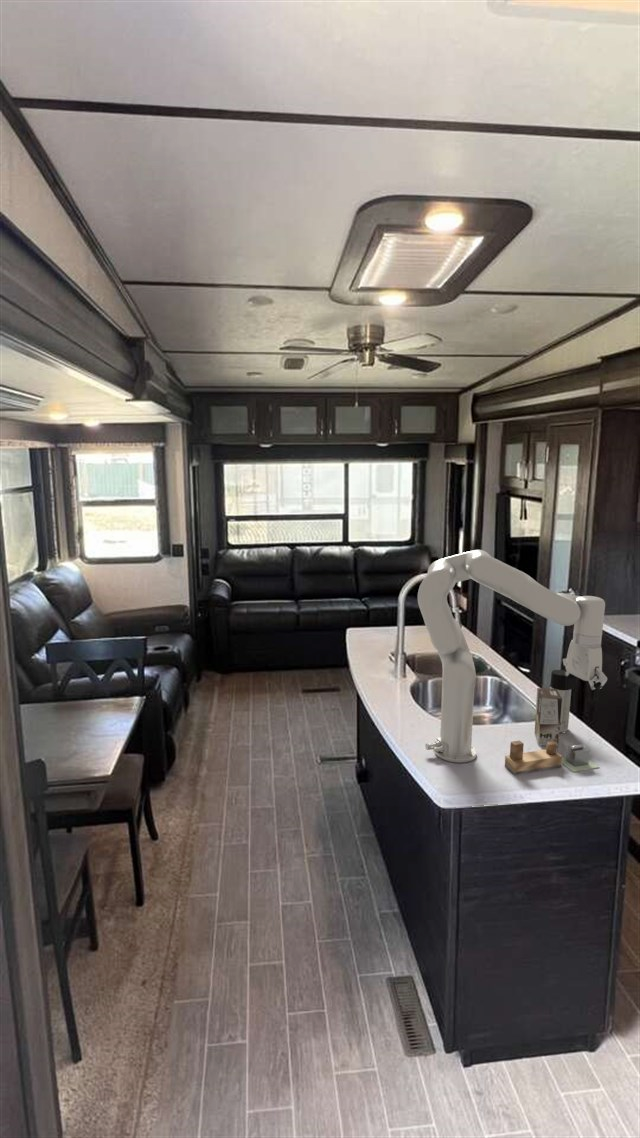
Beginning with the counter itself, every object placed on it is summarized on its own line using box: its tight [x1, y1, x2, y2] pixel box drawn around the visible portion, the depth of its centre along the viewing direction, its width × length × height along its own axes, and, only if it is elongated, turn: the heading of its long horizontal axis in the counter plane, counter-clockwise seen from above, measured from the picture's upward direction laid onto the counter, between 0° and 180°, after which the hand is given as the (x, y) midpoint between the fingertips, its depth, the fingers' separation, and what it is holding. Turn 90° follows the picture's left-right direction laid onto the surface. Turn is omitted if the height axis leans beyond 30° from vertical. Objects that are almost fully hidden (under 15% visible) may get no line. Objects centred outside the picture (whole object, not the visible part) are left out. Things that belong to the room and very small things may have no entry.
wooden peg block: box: [504, 740, 563, 776], centre depth 179 cm, size 16×5×8 cm, turn 107°
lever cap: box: [565, 744, 590, 767], centre depth 181 cm, size 5×4×6 cm
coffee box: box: [534, 687, 562, 747], centre depth 196 cm, size 9×6×16 cm
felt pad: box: [562, 756, 600, 773], centre depth 182 cm, size 9×8×1 cm
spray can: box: [549, 669, 572, 734], centre depth 203 cm, size 7×7×20 cm
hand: (581, 695), depth 178 cm, fingers open, 9 cm apart
